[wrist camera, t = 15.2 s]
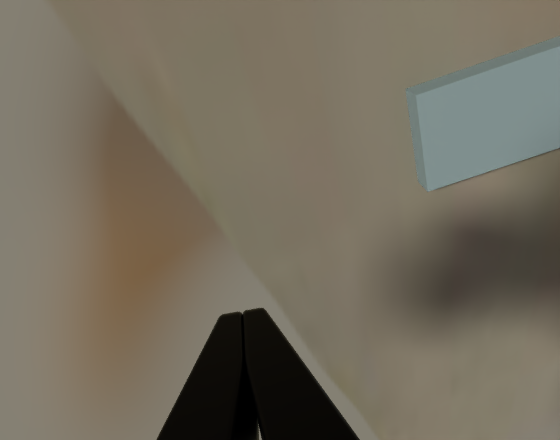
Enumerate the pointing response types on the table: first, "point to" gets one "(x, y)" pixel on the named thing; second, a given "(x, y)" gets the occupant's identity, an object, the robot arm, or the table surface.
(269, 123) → the table surface
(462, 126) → the blue-grey rectangular block
